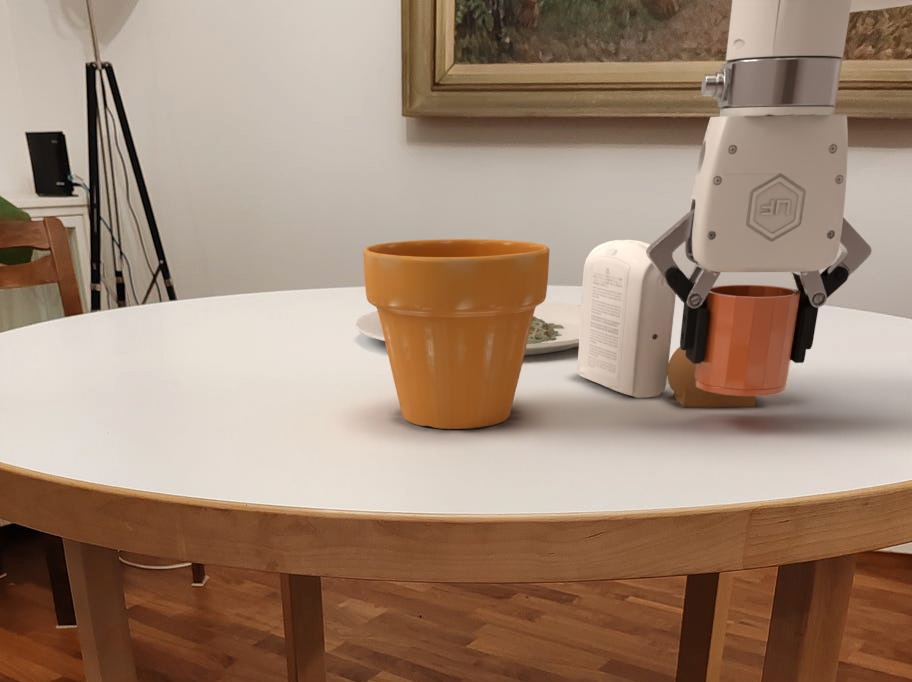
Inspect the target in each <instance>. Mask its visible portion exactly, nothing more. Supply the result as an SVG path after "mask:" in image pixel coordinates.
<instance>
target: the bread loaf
mask: <svg viewBox="0 0 912 682" xmlns="http://www.w3.org/2000/svg"><path fill="white" fill-rule="evenodd" d="M695 369H696V364H693V363H692V362H691V361H690V360H689V359H688V358H687V357H686V350H681V348H680V346H678V347H677V348H676V350H675V351H674V352H673V353H672V355H671V357H670V358H669V364H668V368H667V382H668V385H669V387H670V388H671V390H672V391H673V395H672V397H673V398H674V399H675V400H676V401H677V402H678V403H679V404H680V405H681V407H682V408H743V407H745V408H746V407H755V404H756V399H757V396H733V395H724V394H717V393H712V392H708V391H705V390H702V389H700V388H698V387H696V386H695Z"/></svg>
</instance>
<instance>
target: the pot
mask: <svg viewBox="0 0 912 682" xmlns="http://www.w3.org/2000/svg"><path fill="white" fill-rule="evenodd" d="M800 298H801V292H800V291H798V290H796V288H791V287H785V286H778V285H766V284H764V285H763V284H725V285H723V284H722V285H715V286H714V285H713V286H712V288H711V290H710V292H709V293H708V295H707V297H706V298H705V299H706V302H705V308H707V309H708V310H709V320H708V328H707V337H706V346H705V354H704V361H703V362H701V363H700V364H696V369H695V386H696V387H698V388H700V389H702V390H705V391H708V392H712V393H717V394H724V395H733V396H756V397H765V396H772V395H778V394H781V393H783V392H785V391H786V390H787V385H788V381H789V375H790V374H789V373H790V368H791V362H792V360H791V356H792V349H793V343H794V336H795V330H796V323H797V317H798V311H799V304H800Z"/></svg>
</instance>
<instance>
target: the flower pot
mask: <svg viewBox="0 0 912 682" xmlns="http://www.w3.org/2000/svg"><path fill="white" fill-rule="evenodd" d="M550 252H551V251H550V248H549V246H547V245H545V244H543V243H537V242H529V241H521V240H509V239H508V240H507V239H487V238H486V239H485V238H483V239H482V238H439V239H437V238H436V239H415V240H400V241H391V242H383V243H376V244H373V245H370V246H367V247H365V248H363V255H362V256H363V271H364V272H363V273H364V285H365V286H364V288H365V296H366V300H367V302H368V303H369V304H370V305H372V306H374V307H375V308H376V311H378V314H379V318H380V322H381V326H382V330H383V334H384V339H385V341H384V342H385V347H386V352H387V356H388V361H389V365H390V370H391V373H392V378H393V382H394V386H395V390H396V391H395V392H396V395H397V399H398V403H399V407H400V411H401V415H402V417H403V419H404V420H405V421H407V422H408V423H410V424H413V425H416V426H422V427H426V426H427V427H431V428H434V429H444V430H445V429H446V430H447V429H448V430H464V429H477V428H483V427H484V428H485V427H490V426H494V425H498V424H500V423H502V422H504V421H507V419H508V418H509V417H510V415H511V411H512V408H513V403H514V399H515V396H516V395H515V394H516V390H517V387H518V383H519V379H520V376H521V371H522V367H523V364H524V363H523V362H524V358H525V355H524V354H525V350H526V345H527V340H528V336H529V331H530V327H531V322H532V318H533V315H534V311H535V308H536V306H538V305H539V304H541V303H542V302H543V301H545V300H546V298H547V292H548V283H549V266H550Z"/></svg>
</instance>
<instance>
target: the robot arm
mask: <svg viewBox="0 0 912 682" xmlns="http://www.w3.org/2000/svg"><path fill="white" fill-rule="evenodd" d="M907 6H912V0H731V7H730V8H731V9H730V16H729V17H730V18H729V26H728V27H729V28H728V37H727V46H726V53H725V55H726V56H725V62H726V63H723V64H722V66H721V68H720V69H719V71H715V72H714V73H711V74H710V73H709V74H708V73H705V74H704V75H703V76H702V78H701V79H702V80H701V88H700V93H701V94H700V95H701V97H711V98H712V99H713V100H714V99H715V100H716V102H717V107H718V108H720V109H719V116H710V118H709V121H708V124H707V128H706V131H705V134H704V138H703V140H702V145H701V148H700V149H701V150H700V153H699V157H698V162H697V168H696V171H695V177H694V180H693V187H692V193H691V198H690V203H689V209H688V212H687V213H686V214H685V215H684V216H682V217H681V218H680V219H679V220H678V221H676V222H675V223H674V224H673V225H672V226H671V227H670V228H669V229H667V230H666V231H665V232H664V233H662V235H660V236H659V237H658V238H657V239H656V240H654V242H652V243H651V244H650V246H649V247H648V248H647V251H646V255H647V257H648V258H649V260H650V261H651V262H652V264H653V265H654V267H655V268H656V269H657V271H658V272H659V273H660V275H661V276H662V277H663V279H664V281H665V282H666V283H667V284H668V285H669V286H670V288H671V289H672V290H673V291H674V292H675V293H676V296H677V297H678V298H679V300H680V301H681V302H682V303H683V310H682V319H681V328H680V337H679V347H680V348H681V350H686V357H687V358H688V359H689V360H690V361H691V362H692V363H693V364H700V363H701V362H703V361H704V354H705V346H706V337H707V328H708V320H709V310H708V309H707V308H705V302H706V299H705V298H706V297H707V295H708V293H709V292H710V290H711V288H712V287H714V285H715V283H716V281H717V280H718V278H719V276H720V275H721V273H790V275H791V279H792V282H793V284H794V287H795V288H794V289H796V290H798V291H800V292H801V298H800V304H799V311H798V317H797V323H796V330H795V336H794V343H793V349H792V356H791V362H793V363H795V364H803V363H804V362H805V359H806V353H807V350H811V349H812V347H813V345H814V338H815V332H816V326H817V319H818V315H819V314H818V313H819V308H822V306H824V305H825V304H826V302H827V299H828V298H829V297H831V296H832V295H833V294H834V293H835V292H836V291H837V290H838V289H839V288H841V287H842V286H843V285H844V284H845V283H846V282H847V281H848V279H849V277H850V275H852V274H853V273H854V272H856V271H857V269H858V268H859V267H860V266H861V265H862V264H863V263H865V261H867V259H868V258H869V257H870V255H871V254H872V247H871V245H870V244H869V243H868V242H867V241H866V240H865V239H864V238H863V237H862V236H861V235H860V234H859V232H857V230H856V229H855V228H854V227H853V226H852V225H851V224H850V223H849V221H848V220H847V219H846V218H845V217H844V213H845V204H846V191H847V190H846V189H847V177H848V176H847V175H848V153H849V152H848V151H849V135H848V133H849V132H848V131H849V130H848V115H847V114H835V112H836V111H835V110H836V104H837V97H838V90H839V85H840V78H841V71H842V67H843V66H842V65H843V58H844V53H845V46H846V41H847V34H848V33H847V32H848V27H849V22H850V16H851V15H850V14H851V13H856V12H864V11H878V10H886V9H892V8H898V7H899V8H900V7H907ZM683 244H684V250H685V251H684V252H685V257H686V259H688V261H690V262H692V263H694V264H695V265H694V267H693V269H692V270H691V272H690V274H689V275H688V276H686V274H685V273H684V271H682V270H681V269H680V267H679V266H678V265H677V263H676V261H675V260H674V258H673V255H674V252H675V251H676V250H677V249H678V248H679V247H680V246H682V245H683ZM839 248H840V249H839ZM839 250H841V252H840V255H839V256H838V253H839ZM837 257H838V258H837ZM823 269H824V270H823ZM820 270H823V271H822V272H821V273H820Z"/></svg>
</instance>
